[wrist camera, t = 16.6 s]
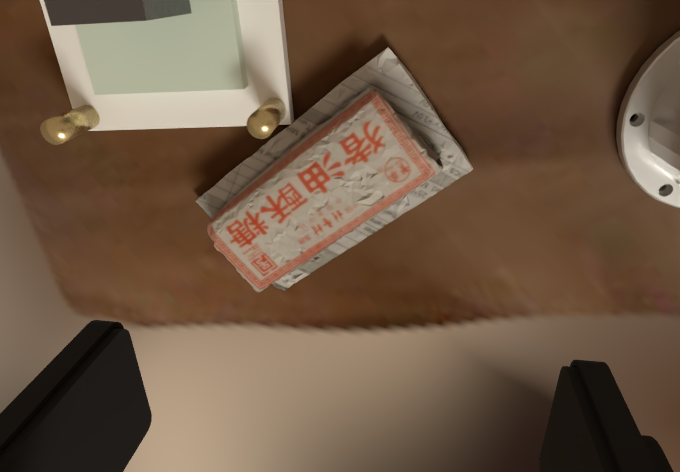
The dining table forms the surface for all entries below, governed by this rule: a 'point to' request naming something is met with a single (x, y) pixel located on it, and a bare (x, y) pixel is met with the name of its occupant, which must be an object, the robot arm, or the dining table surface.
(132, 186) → the dining table surface
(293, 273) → the packaged product
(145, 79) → the board
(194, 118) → the chassis
